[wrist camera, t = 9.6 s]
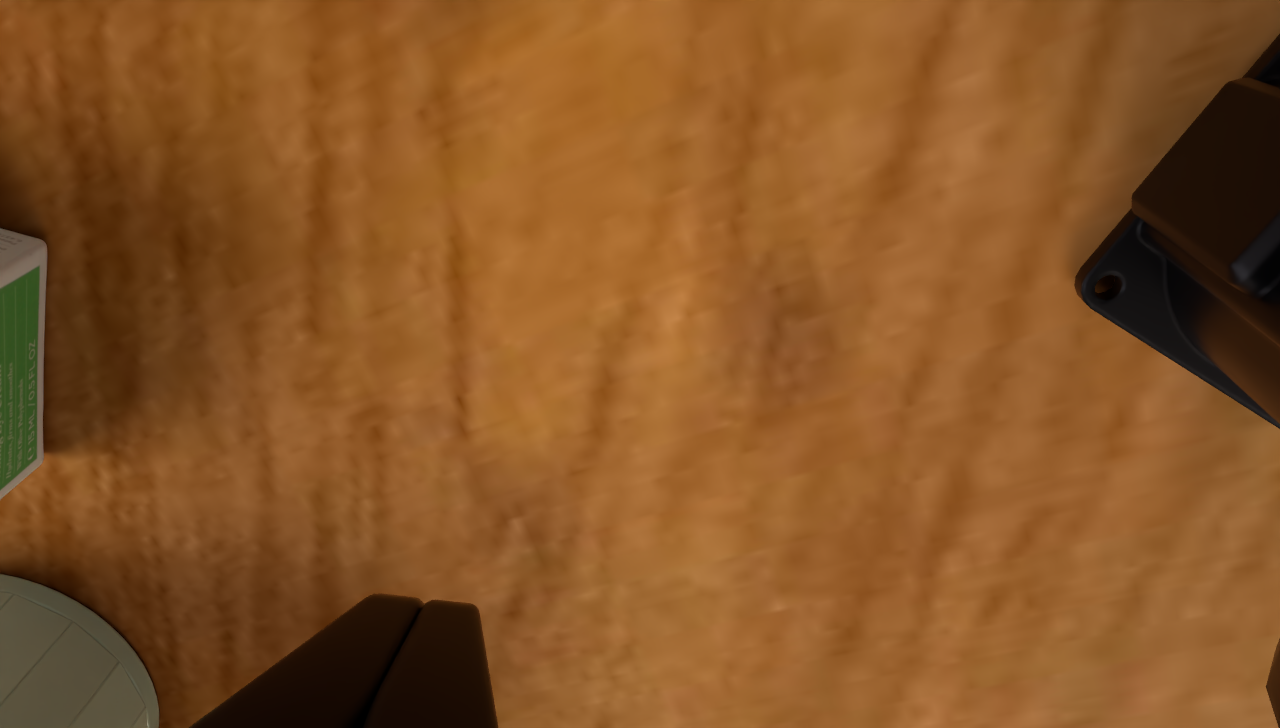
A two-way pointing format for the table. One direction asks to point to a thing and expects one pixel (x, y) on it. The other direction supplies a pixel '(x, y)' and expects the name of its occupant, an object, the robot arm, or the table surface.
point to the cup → (66, 665)
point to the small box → (21, 356)
